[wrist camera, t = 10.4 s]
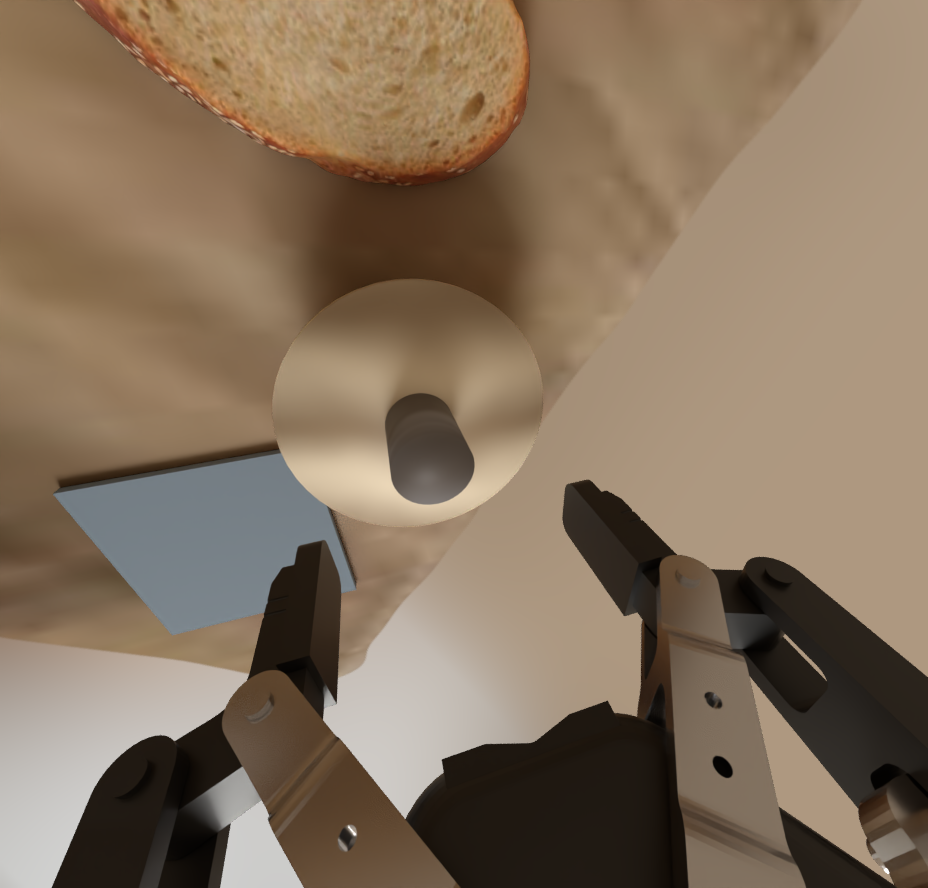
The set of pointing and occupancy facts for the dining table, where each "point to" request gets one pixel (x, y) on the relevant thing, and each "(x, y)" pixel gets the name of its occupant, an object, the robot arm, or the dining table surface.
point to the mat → (205, 534)
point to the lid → (407, 403)
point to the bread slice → (343, 76)
